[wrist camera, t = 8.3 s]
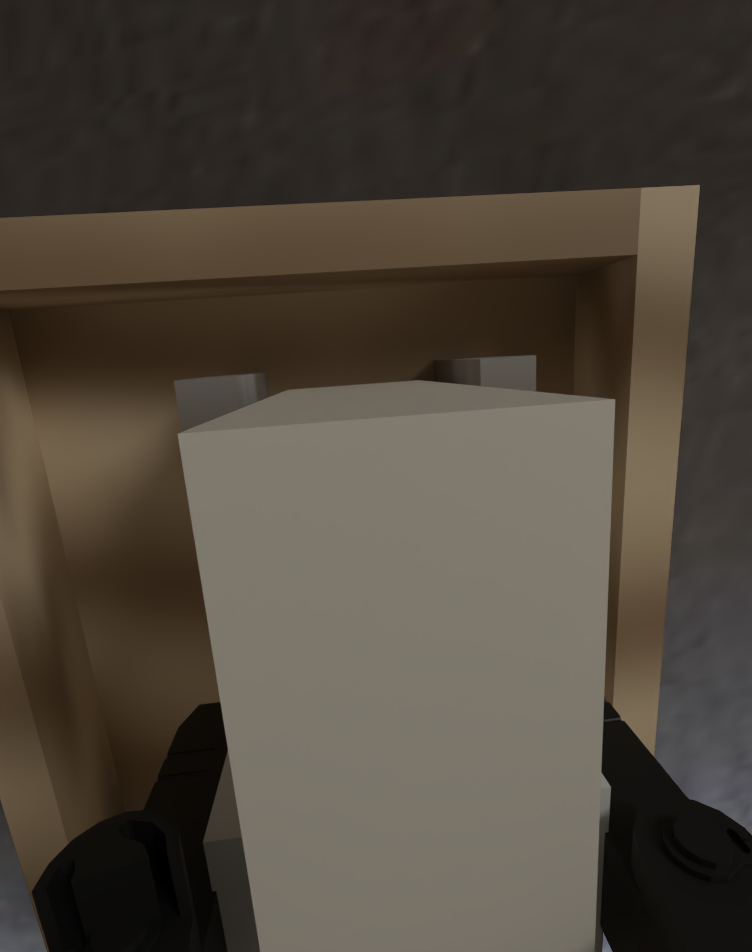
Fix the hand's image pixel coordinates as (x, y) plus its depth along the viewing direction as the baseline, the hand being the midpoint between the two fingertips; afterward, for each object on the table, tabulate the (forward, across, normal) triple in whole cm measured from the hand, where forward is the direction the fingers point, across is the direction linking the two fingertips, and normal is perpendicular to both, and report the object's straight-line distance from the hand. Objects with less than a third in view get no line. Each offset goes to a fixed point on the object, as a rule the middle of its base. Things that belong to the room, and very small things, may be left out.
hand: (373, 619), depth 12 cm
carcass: (+3, -1, 0) cm, 3 cm away
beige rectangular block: (0, 0, 0) cm, 1 cm away
